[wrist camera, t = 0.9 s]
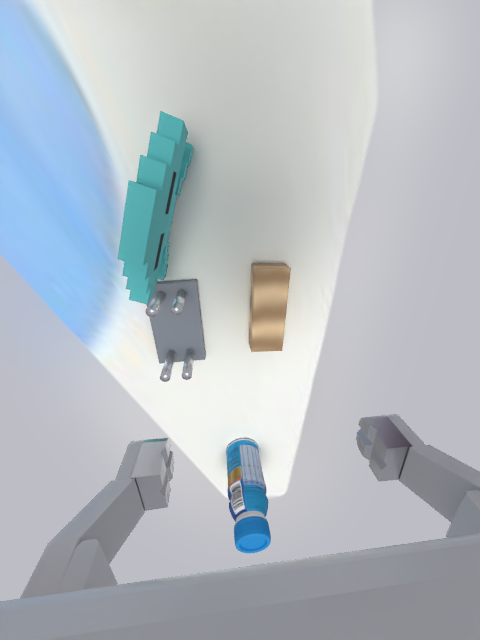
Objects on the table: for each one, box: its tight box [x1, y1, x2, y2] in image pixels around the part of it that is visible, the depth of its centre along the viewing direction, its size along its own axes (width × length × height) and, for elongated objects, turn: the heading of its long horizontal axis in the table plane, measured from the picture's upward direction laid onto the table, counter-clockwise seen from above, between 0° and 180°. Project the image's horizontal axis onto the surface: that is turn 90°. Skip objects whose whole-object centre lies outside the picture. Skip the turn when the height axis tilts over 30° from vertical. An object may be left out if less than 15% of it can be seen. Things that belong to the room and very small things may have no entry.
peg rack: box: [146, 279, 206, 382], centre depth 44 cm, size 16×9×9 cm, turn 2°
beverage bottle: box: [226, 439, 271, 553], centre depth 55 cm, size 8×8×20 cm
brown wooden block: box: [249, 264, 291, 352], centre depth 47 cm, size 16×6×4 cm, turn 179°
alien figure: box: [118, 111, 193, 304], centre depth 31 cm, size 20×2×20 cm, turn 161°
